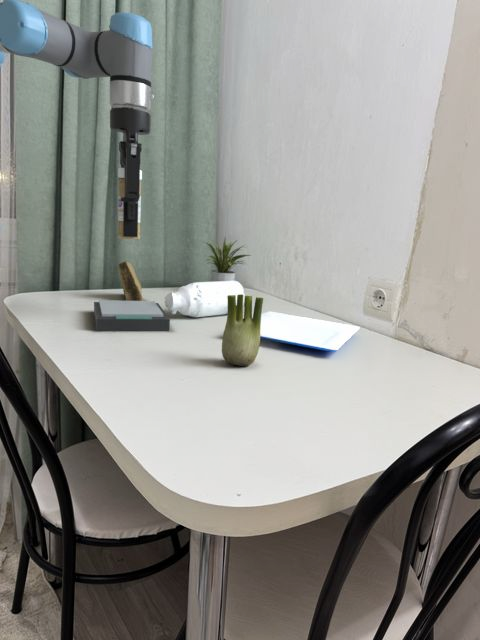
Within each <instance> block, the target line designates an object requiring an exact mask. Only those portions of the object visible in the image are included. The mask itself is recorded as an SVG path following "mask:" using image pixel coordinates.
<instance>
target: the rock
mask: <svg viewBox="0 0 480 640" xmlns="http://www.w3.org/2000/svg"><path fill="white" fill-rule="evenodd" d="M118 271H119V276H120V281H121V287H122V291H123V294H124V297H125V301H144V299H143V293H142V290H143V289H142V284H141V282H140V280H139V278H138V276H137V273H136V270H135V268H134V266H133V265H132V263H130V261H129V260H125V261H122V262H120V263H118Z"/></svg>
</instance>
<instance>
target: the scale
mask: <svg viewBox="0 0 480 640" xmlns="http://www.w3.org/2000/svg"><path fill="white" fill-rule="evenodd" d="M93 315H94V321H95V329H96V331H97V332H170V326H171V325H170V324H171V319H170V317H169V316H168V315H167V314H166V312H165V311H164V309H163V308H162V307H161V305H160V304H159V302H155V300H143V301H126V300H115V299H114V300H113V299H112V300H108V299H104V300H102V299H98V301H94V302H93Z"/></svg>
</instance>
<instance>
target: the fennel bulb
mask: <svg viewBox="0 0 480 640" xmlns="http://www.w3.org/2000/svg"><path fill="white" fill-rule="evenodd" d="M243 296H244V295H243V294H238V295H237V305H236V295H228V296H227V300H228V309H227V310H228V311H227V314H226V323H225V326H224V327H225V328H224V330H223V334H222V340H221V341H222V342H221V354H222V358H223V359H224V361H225V362H226V363H228V364H230V365H234V366H240V367H245V366H246V367H247V366H250V365H252V364H254V362H255V360H256V358H257V356H258V352H259V350H260V344H261V339H260V335H261V334H260V330H261V314H263V313H262V312H263V305H264V297H261V296H256V297H255V301H254V305H253V295H245V299H244V306H243ZM252 318H253V319H252Z"/></svg>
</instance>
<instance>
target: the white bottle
mask: <svg viewBox="0 0 480 640" xmlns="http://www.w3.org/2000/svg"><path fill="white" fill-rule="evenodd" d="M244 290H245V288H244V286H243V285H242V284H241V283H240V282H239V281H238V280H234V281H233V280H232V281H216V282H212V281H197V282H191V283H188V284H186V285H182V286H180V287H179V288H178V289H176V291H175V292H173V291H171V292H168V293H167V294H166V295H165V297H164V305H165V308H167V309H168V311H170V312H171V315H176V314H177V312H178V313H179V314H181V315H183V316H185V317H186V316H187V317H190V318H194V319H195V318H203V317H211V316H212V317H213V316H222V315H227V311H228V310H227V309H228V300H227V296H228V295H236V305H237V295H238V294H243V295H244V296H243V307H244V299H245V296H246V295H245V292H244Z"/></svg>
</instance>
